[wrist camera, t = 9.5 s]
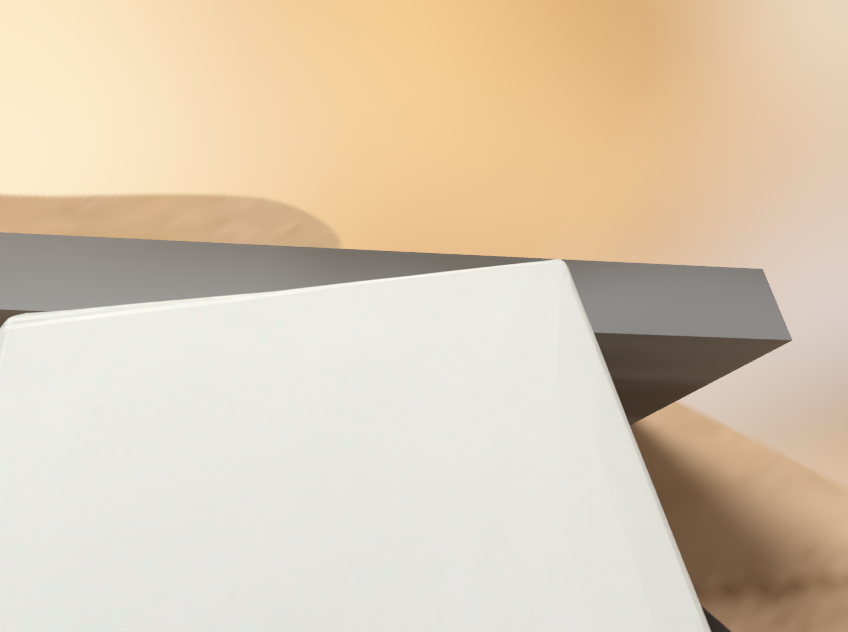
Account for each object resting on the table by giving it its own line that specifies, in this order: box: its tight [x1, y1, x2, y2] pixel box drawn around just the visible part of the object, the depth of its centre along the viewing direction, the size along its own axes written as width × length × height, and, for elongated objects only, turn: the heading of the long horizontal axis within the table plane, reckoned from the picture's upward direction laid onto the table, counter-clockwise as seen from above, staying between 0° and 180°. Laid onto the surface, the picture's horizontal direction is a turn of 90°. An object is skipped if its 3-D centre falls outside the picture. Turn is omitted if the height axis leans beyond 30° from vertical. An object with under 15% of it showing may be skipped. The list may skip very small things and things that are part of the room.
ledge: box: [0, 232, 792, 425], centre depth 12 cm, size 14×20×10 cm
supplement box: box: [0, 259, 711, 632], centre depth 9 cm, size 7×7×13 cm
